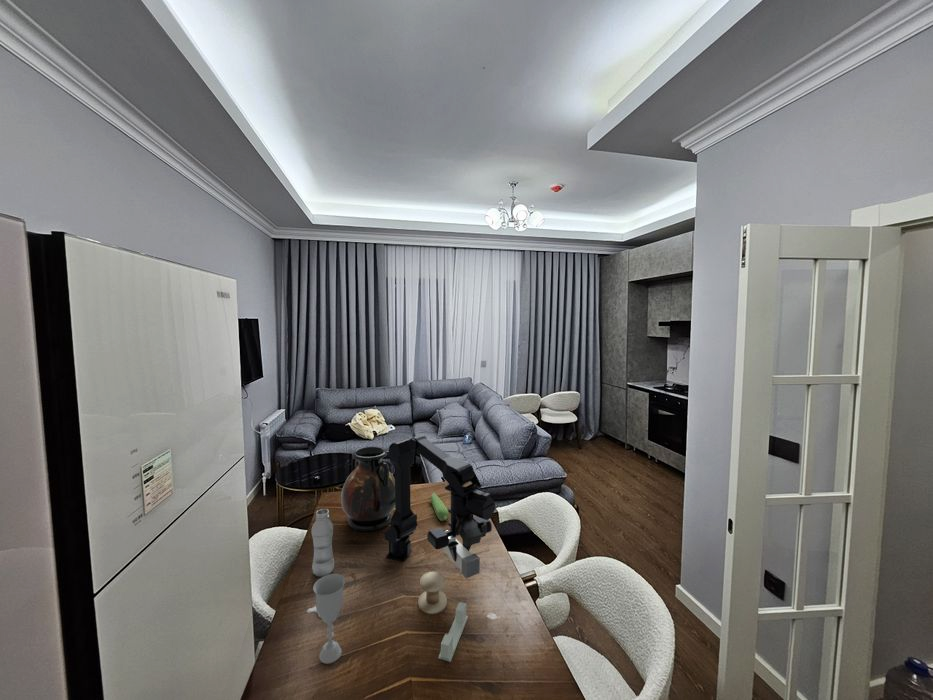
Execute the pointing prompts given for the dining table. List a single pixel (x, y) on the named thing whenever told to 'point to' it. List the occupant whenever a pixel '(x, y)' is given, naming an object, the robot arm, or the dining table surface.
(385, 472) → the amphora vase
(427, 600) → the bobbin
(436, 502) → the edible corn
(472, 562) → the mallet
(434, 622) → the dining table surface
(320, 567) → the plastic bottle
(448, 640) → the notched board
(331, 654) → the chalice
